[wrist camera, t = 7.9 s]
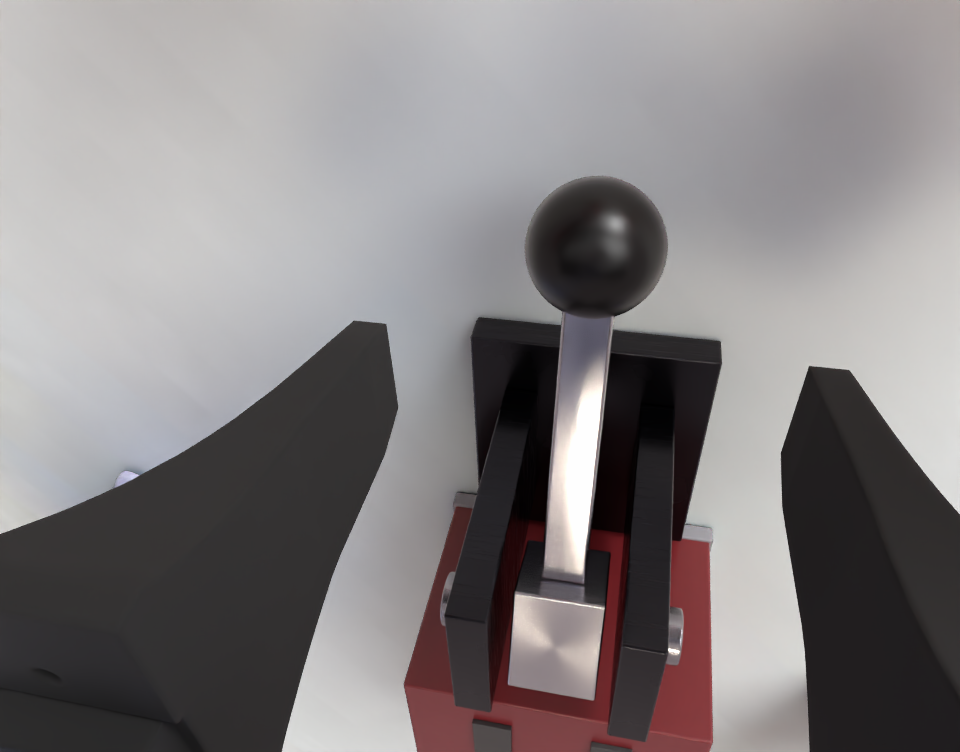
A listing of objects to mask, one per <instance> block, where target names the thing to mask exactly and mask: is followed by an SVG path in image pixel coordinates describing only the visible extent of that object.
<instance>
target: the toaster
mask: <svg viewBox="0 0 960 752" xmlns="http://www.w3.org/2000/svg"><path fill="white" fill-rule="evenodd" d="M475 499H476V495H472V494H465V493H456V496H455V499H454V503H453V507H454V514H453V518H452V521H451V525H450V528H449V531H448V535H447V538H446V542H445V545H444V549H443V552H442V555H441V559H440V562H439V566H438V569H437V572H436V576H435V579H434V583H433V586H432V589H431V593H430V596H429V600H428V603H427V606H426V610H425V613H424V617H423V620H422V623H421V627H420V630H419V634H418V637H417V640H416V644H415V647H414V651H413V654H412V657H411V661H410V664H409V668H408V671H407V674H406V678H405V681H404V688H405V693H406V698H407V703H408V708H409V713H410V718H411V723H412V727H413V732H414V737H415V742H416V747H417V752H709V751H710V749H711V746H712V743H713V716H712V659H711V601H710V550H711V546H712V543H713V530H712V528H707V527H700V526H692V525H685V527H684V531H683V536H682V540H681V541H680V542H679V541H672V549H671V586H670V606H672V607H678V608H681V609H682V611H683V619H684V624H683V641H682V650H681V656H680V661H679V664H678V665H677V666H671V665H666V666H665V670H664V674H663V678H662V682H661V686H660V690H659V694H658V698H657V702H656V706H655V710H654V714H653V718H652V722H651V726H650V730H649V734H648V738H647V741H646V742H641V741H636V740H630V739H625V738H620V737H615V736H610V735H608V734H607V727H608V715H609V703H610V692H611V680H612V668H613V656H614V644H615V632H616V620H617V609H618V597H619V585H620V573H621V561H622V549H623V538H624V533H617V532H610V531H603V530H596V529H592V530H591V539H590V549H593V550H600V551H607V552H610V554H611V557H610V569H609V581H608V592H607V604H606V614H605V622H604V630H603V639H602V647H601V655H600V663H599V672H598V680H597V688H596V697H595V700H594V701H592V700H586V699H581V698H575V697H570V696H565V695H559V694H554V693H548V692H543V691H537V690H532V689H527V688H521V687H516V686H510V685H508V683H507V679H508V664H509V650H510V635H511V621H512V610H511V615H510V620H509V625H508V630H507V635H506V640H505V645H504V650H503V655H502V660H501V665H500V670H499V675H498V680H497V685H496V690H495V695H494V700H493V705H492V710H491V712H484V711H479V710H473V709H468V708H463V707H458V706H455V704H454V696H453V688H452V680H451V671H450V663H449V655H448V646H447V638H446V629H445V626H443V625H442V624H441V619H440V610H441V601H442V595H443V590H444V586H445V582H446V579H447V577H448V575H449V573H450V572H456V568H457V565H458V561H459V557H460V554H461V550H462V546H463V543H464V539H465V535H466V532H467V528H468V524H469V521H470V517H471V513H472V510H473V506H474V502H475ZM544 528H545V522H541V521H534V520H529V525H528V530H527V535H526V540H525V545H524V550H523V555H522V560H523V556H524V553H525V549H526V545H527V542H528V540H533V541H540V542H543V540H544ZM522 560H521V563H522ZM520 567H521V565H520ZM519 571H520V570H519ZM512 606H513V605H512Z"/></svg>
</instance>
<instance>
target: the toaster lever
mask: <svg viewBox="0 0 960 752" xmlns="http://www.w3.org/2000/svg"><path fill="white" fill-rule="evenodd" d="M667 251H668V241H667V233H666V228H665V225H664V222H663V219H662V217H661V215H660V213H659V211H658V209H657V208H656V206H655V205H654V204H653V202H652V201H651V200H650V199H649V198H648V197H647V195H646V194H644V193H643V192H642V191H641V190H639V189H638V188H637V187H635V186H633V185H632V184H630V183H628V182H625V181H623V180H620V179H617V178H613V177H606V176H590V177H583V178H580V179H576V180H573V181H571V182H568V183H566V184H564V185H562V186H561V187H559V188H557V189H556V190H555V191H553V192H552V193H551V194H549V195H548V196H547V197H546V198H545V199H544V200H543V202H542V203H541V204H540V206H539V207H538V208H537V210H536V212H535V213H534V215H533V217H532V219H531V222H530V224H529V226H528V230H527V234H526V240H525V259H526V264H527V268H528V272H529V275H530V277H531V279H532V282H533V283H534V285H535V287H536V288H537V290H538V291H539V292H540V294H541V295H542V296H543V297H544V298H545V299H546V300H547V301H548V302H549V303H550V304H552V305H553V306H554V307H556V308H557V309H559V310H561V311H562V323H561V335H560V348H559V360H558V372H557V384H556V396H555V408H554V420H553V432H552V444H551V456H550V468H549V480H548V492H547V504H546V516H545V528H544V540H543V542H540V541H533V540H528V542H527V545H526V549H525V553H524V556H523V560H522V563H521V567H520V571H519V574H518V578H517V582H516V585H515V589H514V593H513V606H512V621H511V635H510V650H509V664H508V679H507V683H508V685H510V686H516V687H521V688H527V689H532V690H537V691H543V692H548V693H554V694H559V695H565V696H570V697H575V698H581V699H586V700H592V701H594V700H595V697H596V688H597V680H598V672H599V663H600V655H601V647H602V639H603V630H604V622H605V614H606V604H607V592H608V581H609V569H610V557H611V554H610V552H607V551H600V550H593V549H590V539H591V530H592V521H593V512H594V502H595V493H596V484H597V475H598V465H599V456H600V447H601V437H602V428H603V419H604V410H605V400H606V391H607V382H608V373H609V363H610V354H611V345H612V336H613V326H614V317H615V316H617V315H620V314H623V313H625V312H627V311H629V310H631V309H632V308H634V307H635V306H637V305H638V304H640V303H641V302H642V301H643V300H644V299H645V298H646V297H647V296H648V295H649V294H650V293H651V292H652V291H653V289H654V288H655V286H656V285H657V283H658V281H659V279H660V277H661V275H662V273H663V270H664V267H665V263H666V258H667Z"/></svg>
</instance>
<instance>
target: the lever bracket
mask: <svg viewBox="0 0 960 752" xmlns="http://www.w3.org/2000/svg"><path fill="white" fill-rule="evenodd" d="M560 335H561V325H551V324H541V323H531V322H521V321H511V320H501V319H491V318H481V317H479V318H477V321H476V324H475V327H474V329H473V332H472V335H471V351H472V370H473V389H474V407H475V426H476V445H477V463H478V482H479V488H478V491H477V495H476V499H475V502H474V506H473V510H472V513H471V517H470V521H469V524H468V528H467V532H466V535H465V539H464V543H463V546H462V550H461V554H460V557H459V561H458V565H457V568H456V572H450V573H449V575H448V577H447V579H446V582H445V586H444V590H443V595H442V601H441V610H440V619H441V624H442V625H443V626H445V629H446V638H447V646H448V655H449V663H450V671H451V680H452V688H453V696H454V704H455V706H458V707H463V708H468V709H473V710H479V711H484V712H491V710H492V705H493V700H494V695H495V690H496V685H497V680H498V675H499V670H500V665H501V660H502V655H503V650H504V645H505V640H506V635H507V630H508V625H509V620H510V615H511V610H512V605H513V593H514V589H515V585H516V582H517V578H518V574H519V570H520V565H521V560H522V555H523V550H524V545H525V540H526V535H527V530H528V525H529V520H534V521H541V522H545V516H546V504H547V492H548V480H549V468H550V456H551V444H552V432H553V420H554V408H555V396H556V384H557V372H558V360H559V348H560ZM721 365H722V354H721V342H720V341H713V340H703V339H693V338H683V337H673V336H663V335H652V334H642V333H632V332H622V331H613V336H612V345H611V354H610V363H609V373H608V382H607V391H606V400H605V410H604V419H603V428H602V437H601V447H600V456H599V465H598V475H597V484H596V493H595V502H594V512H593V521H592V529H596V530H603V531H610V532H617V533H624V538H623V549H622V561H621V573H620V585H619V597H618V609H617V620H616V632H615V644H614V656H613V668H612V680H611V692H610V703H609V715H608V727H607V734H608V735H610V736H615V737H620V738H625V739H630V740H636V741H641V742H646V741H647V738H648V734H649V730H650V726H651V722H652V718H653V714H654V710H655V706H656V702H657V698H658V694H659V690H660V686H661V682H662V678H663V674H664V670H665V666H666V665H671V666H677V665H678V664H679V661H680V656H681V650H682V641H683V624H684V619H683V611H682V609H681V608H678V607H672V606H670V586H671V549H672V541H679V542H680V541H681V540H682V536H683V531H684V527H685V523H686V518H687V514H688V509H689V505H690V501H691V496H692V492H693V488H694V483H695V479H696V474H697V470H698V466H699V461H700V457H701V453H702V448H703V444H704V440H705V435H706V431H707V426H708V422H709V418H710V413H711V409H712V405H713V400H714V396H715V391H716V387H717V383H718V378H719V374H720V370H721Z"/></svg>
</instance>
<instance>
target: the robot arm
mask: <svg viewBox="0 0 960 752" xmlns="http://www.w3.org/2000/svg"><path fill="white" fill-rule="evenodd" d="M397 410H398V402H397V395H396V388H395V381H394V374H393V367H392V361H391V354H390V347H389V340H388V333H387V326H386V324H382V323H372V322H362V321H353V322H352V323H351V324H350V325H348V326H347V327H346V328H345V329H344V330H343V331H341V332H340V333H339V334H338V335H337V336H335V337H334V338H333V339H332V340H331V341H330V342H329V343H327V344H326V345H325V346H324V347H323V348H322V349H321V350H319V351H318V352H317V353H316V354H315V355H314V356H312V357H311V358H310V359H309V360H308V361H307V362H306V363H304V364H303V365H302V366H301V367H300V368H298V369H297V370H296V371H295V372H294V373H292V374H291V375H290V376H289V377H288V378H286V379H285V380H284V381H283V382H282V383H280V384H279V385H278V386H277V387H276V388H274V389H273V390H272V391H271V392H269V393H268V394H267V395H265V396H264V397H263V398H261V399H260V400H259V401H257V402H256V403H255V404H253V405H252V406H251V407H249V408H248V409H247V410H245V411H244V412H243V413H241V414H240V415H239V416H237V417H236V418H235V419H233V420H232V421H230V422H229V423H228V424H226V425H225V426H223V427H222V428H220V429H219V430H217V431H216V432H214V433H213V434H211V435H210V436H208V437H206V438H205V439H203V440H202V441H200V442H198V443H197V444H195V445H194V446H192V447H190V448H189V449H187V450H185V451H184V452H182V453H180V454H179V455H177V456H175V457H173V458H171V459H169V460H168V461H166V462H164V463H162V464H160V465H158V466H156V467H155V468H153V469H151V470H149V471H147V472H145V473H143V474H142V475H137V474H135V473H133V472H130V471H123V472H121V474H120V475H119V476H118V478H117V479H116V482H115V485H114V488H113V489H111V490H109V491H107V492H105V493H103V494H101V495H99V496H96V497H94V498H92V499H89V500H87V501H85V502H83V503H80V504H78V505H76V506H73V507H71V508H68V509H66V510H64V511H61V512H59V513H56V514H53V515H51V516H48V517H45V518H43V519H40V520H37V521H35V522H32V523H29V524H27V525H24V526H21V527H18V528H16V529H13V530H10V531H8V532H5V533H2V534H0V752H282V748H283V744H284V740H285V735H286V731H287V727H288V724H289V720H290V716H291V712H292V709H293V705H294V701H295V698H296V694H297V690H298V687H299V683H300V679H301V676H302V672H303V669H304V665H305V662H306V658H307V655H308V652H309V648H310V645H311V642H312V638H313V635H314V632H315V628H316V625H317V622H318V618H319V615H320V612H321V609H322V606H323V603H324V600H325V597H326V594H327V590H328V587H329V584H330V581H331V578H332V575H333V573H334V570H335V567H336V565H337V562H338V560H339V557H340V555H341V552H342V550H343V548H344V546H345V543H346V541H347V539H348V537H349V534H350V532H351V530H352V528H353V525H354V523H355V521H356V519H357V517H358V514H359V512H360V510H361V508H362V505H363V503H364V501H365V499H366V496H367V494H368V492H369V490H370V487H371V485H372V483H373V480H374V478H375V476H376V474H377V471H378V469H379V467H380V464H381V462H382V460H383V457H384V455H385V452H386V448H387V445H388V442H389V439H390V435H391V432H392V428H393V425H394V421H395V417H396V414H397ZM781 480H782V507H783V514H784V520H785V527H786V533H787V539H788V545H789V552H790V558H791V564H792V569H793V575H794V581H795V587H796V593H797V599H798V605H799V611H800V617H801V623H802V631H803V639H804V647H805V660H806V678H807V696H808V718H809V745H810V752H960V514H959V513H958V512H957V511H956V510H955V509H954V508H953V506H952V505H951V504H950V503H949V502H948V501H947V500H946V498H945V497H944V496H943V495H942V494H941V493H940V491H939V490H938V489H937V488H936V487H935V485H934V484H933V483H932V482H931V481H930V479H929V478H928V477H927V476H926V474H925V473H924V472H923V471H922V469H921V468H920V467H919V465H918V464H917V463H916V462H915V460H914V459H913V458H912V456H911V455H910V454H909V453H908V451H907V450H906V449H905V447H904V446H903V445H902V443H901V442H900V441H899V439H898V438H897V437H896V435H895V434H894V433H893V431H892V430H891V428H890V427H889V426H888V424H887V423H886V421H885V420H884V419H883V417H882V416H881V414H880V413H879V412H878V410H877V409H876V407H875V406H874V404H873V403H872V402H871V400H870V399H869V397H868V396H867V394H866V393H865V391H864V390H863V389H862V387H861V386H860V384H859V383H858V381H857V380H856V379H855V377H854V376H853V375H852V373H851V372H850V371H849V370H842V369H832V368H822V367H812V366H809V368H808V371H807V374H806V378H805V381H804V384H803V387H802V390H801V393H800V396H799V399H798V402H797V405H796V408H795V411H794V414H793V418H792V421H791V424H790V427H789V430H788V433H787V436H786V439H785V442H784V445H783V448H782V451H781Z"/></svg>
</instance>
